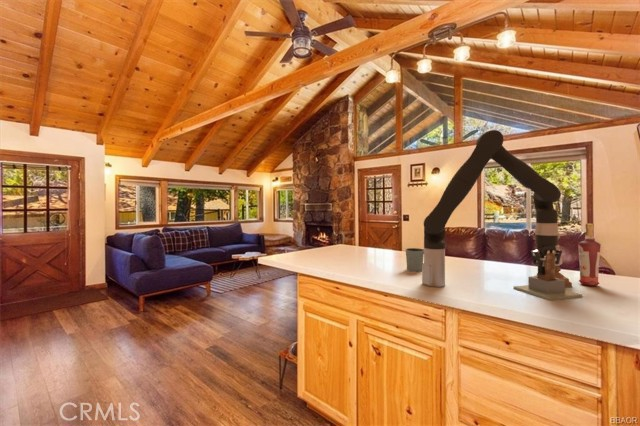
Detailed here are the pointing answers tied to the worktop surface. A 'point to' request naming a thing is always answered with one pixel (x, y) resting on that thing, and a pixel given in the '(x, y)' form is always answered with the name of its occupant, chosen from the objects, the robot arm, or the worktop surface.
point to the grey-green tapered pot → (414, 259)
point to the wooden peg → (549, 267)
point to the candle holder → (557, 268)
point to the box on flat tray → (547, 289)
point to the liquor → (589, 258)
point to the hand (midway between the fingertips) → (546, 274)
